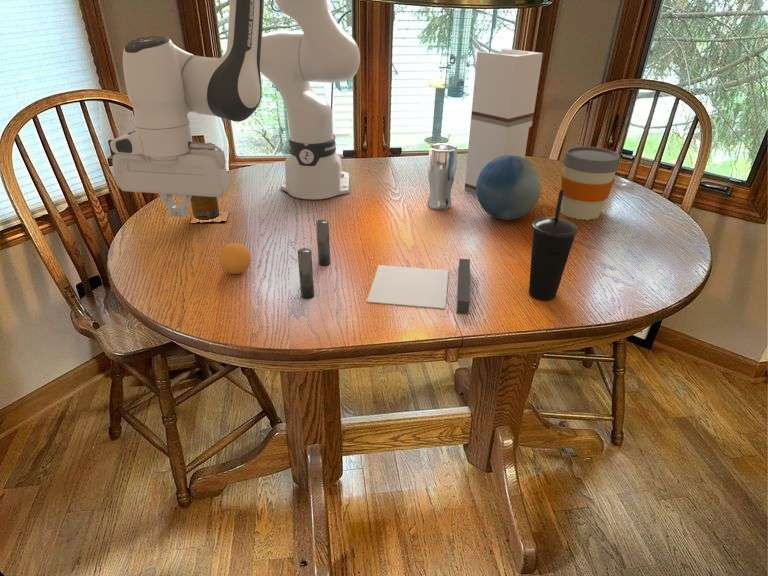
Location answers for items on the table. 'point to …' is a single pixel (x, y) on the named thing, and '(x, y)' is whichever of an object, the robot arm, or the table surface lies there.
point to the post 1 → (306, 273)
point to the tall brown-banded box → (501, 108)
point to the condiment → (204, 207)
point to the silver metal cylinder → (441, 175)
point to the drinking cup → (550, 253)
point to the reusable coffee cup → (587, 180)
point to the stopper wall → (463, 286)
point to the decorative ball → (508, 187)
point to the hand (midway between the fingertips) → (179, 215)
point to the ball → (234, 258)
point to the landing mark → (409, 287)
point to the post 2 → (323, 242)
